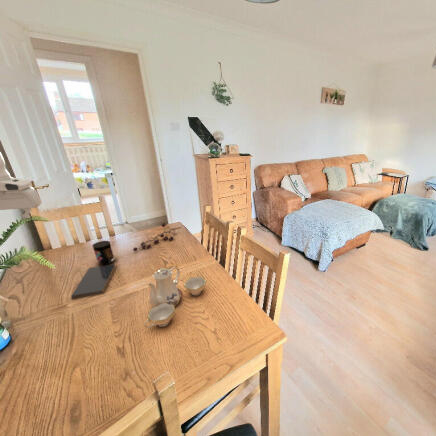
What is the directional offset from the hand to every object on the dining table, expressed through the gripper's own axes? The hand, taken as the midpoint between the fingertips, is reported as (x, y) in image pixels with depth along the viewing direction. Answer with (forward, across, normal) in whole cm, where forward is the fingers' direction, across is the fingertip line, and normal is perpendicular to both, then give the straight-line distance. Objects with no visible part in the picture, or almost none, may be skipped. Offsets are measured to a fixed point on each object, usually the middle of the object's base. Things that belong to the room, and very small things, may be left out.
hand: (10, 220), depth 90 cm
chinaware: (+29, +54, -32) cm, 69 cm away
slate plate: (+29, +22, -6) cm, 37 cm away
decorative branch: (+29, +44, +26) cm, 59 cm away
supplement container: (+29, +22, +9) cm, 38 cm away
